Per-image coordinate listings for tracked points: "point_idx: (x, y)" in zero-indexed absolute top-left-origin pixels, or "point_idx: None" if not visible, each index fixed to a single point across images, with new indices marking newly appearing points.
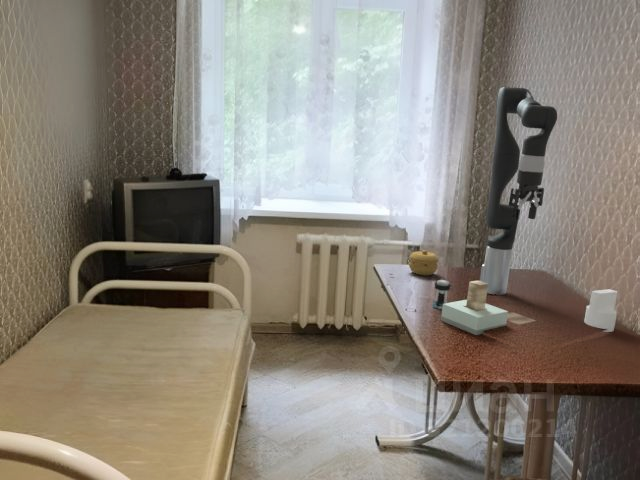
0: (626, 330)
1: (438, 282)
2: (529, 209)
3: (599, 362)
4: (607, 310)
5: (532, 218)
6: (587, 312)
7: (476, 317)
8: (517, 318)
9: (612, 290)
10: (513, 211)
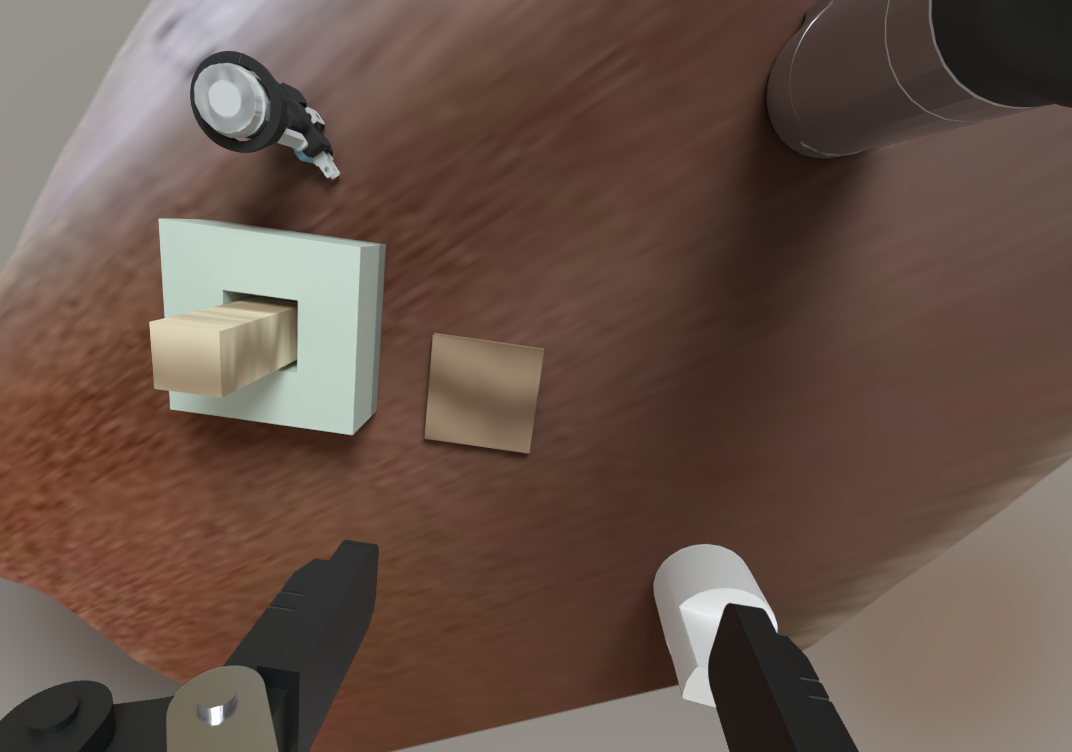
0: None
1: (197, 88)
2: (778, 715)
3: (377, 685)
4: None
5: (711, 662)
6: (679, 591)
7: (171, 400)
8: (485, 401)
9: None
10: (246, 652)
